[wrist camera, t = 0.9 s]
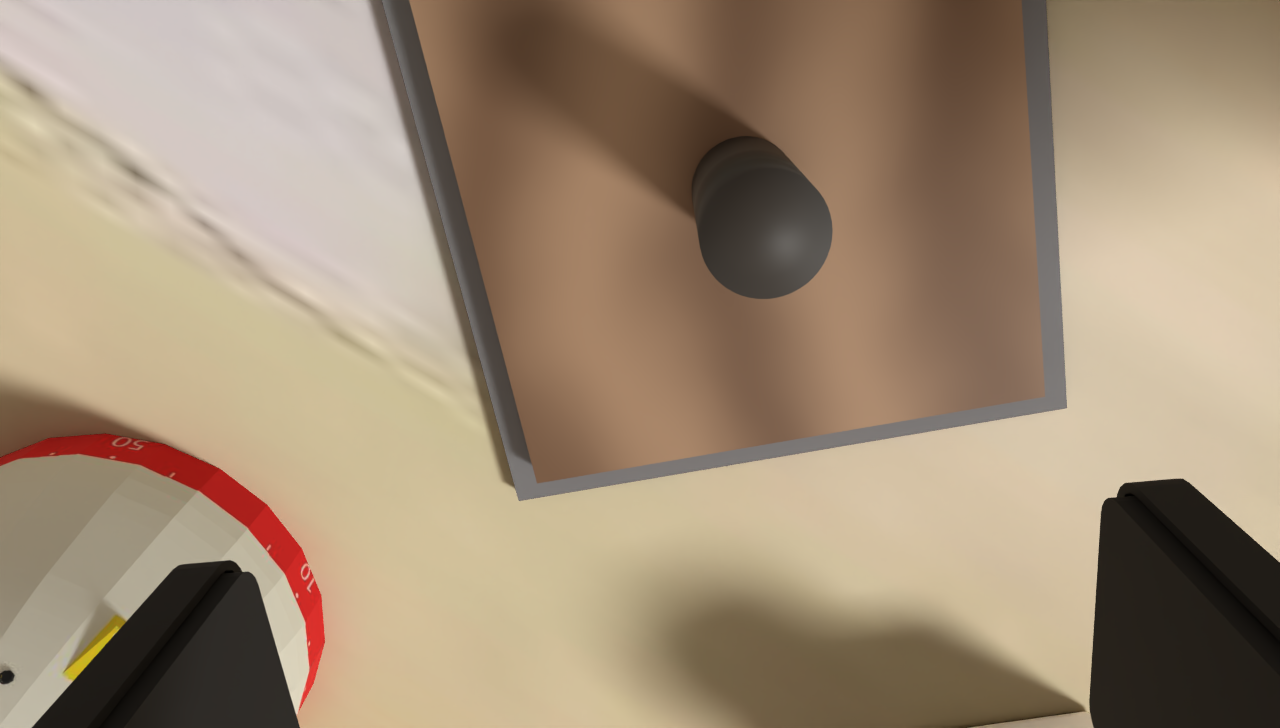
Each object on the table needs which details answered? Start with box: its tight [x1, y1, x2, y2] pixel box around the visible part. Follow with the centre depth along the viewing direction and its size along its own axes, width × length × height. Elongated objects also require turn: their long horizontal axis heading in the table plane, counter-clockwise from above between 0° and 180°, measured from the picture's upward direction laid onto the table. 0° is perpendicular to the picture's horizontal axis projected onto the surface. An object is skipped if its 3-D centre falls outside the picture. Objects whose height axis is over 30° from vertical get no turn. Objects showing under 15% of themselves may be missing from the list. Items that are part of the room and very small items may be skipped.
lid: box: [409, 0, 1045, 484], centre depth 25 cm, size 16×16×7 cm
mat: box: [382, 0, 1067, 501], centre depth 28 cm, size 18×18×1 cm
